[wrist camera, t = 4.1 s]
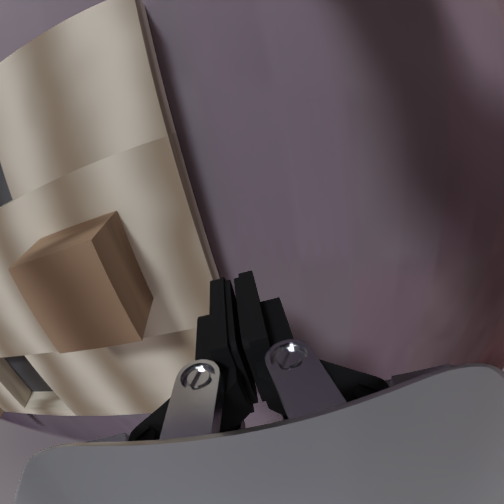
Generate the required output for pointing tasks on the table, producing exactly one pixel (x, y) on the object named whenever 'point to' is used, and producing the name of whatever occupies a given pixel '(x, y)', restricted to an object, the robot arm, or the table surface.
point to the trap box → (97, 209)
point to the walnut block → (85, 286)
